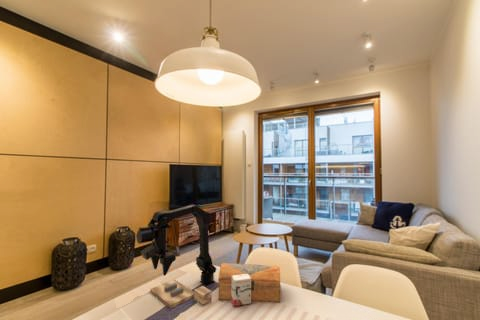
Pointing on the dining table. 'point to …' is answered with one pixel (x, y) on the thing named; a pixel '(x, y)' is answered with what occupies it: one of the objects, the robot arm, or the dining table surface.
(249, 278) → the ink box
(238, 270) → the wooden box
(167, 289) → the graphite stick
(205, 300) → the tan rectangular block
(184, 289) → the oak board
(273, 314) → the dining table surface
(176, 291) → the graphite stick
